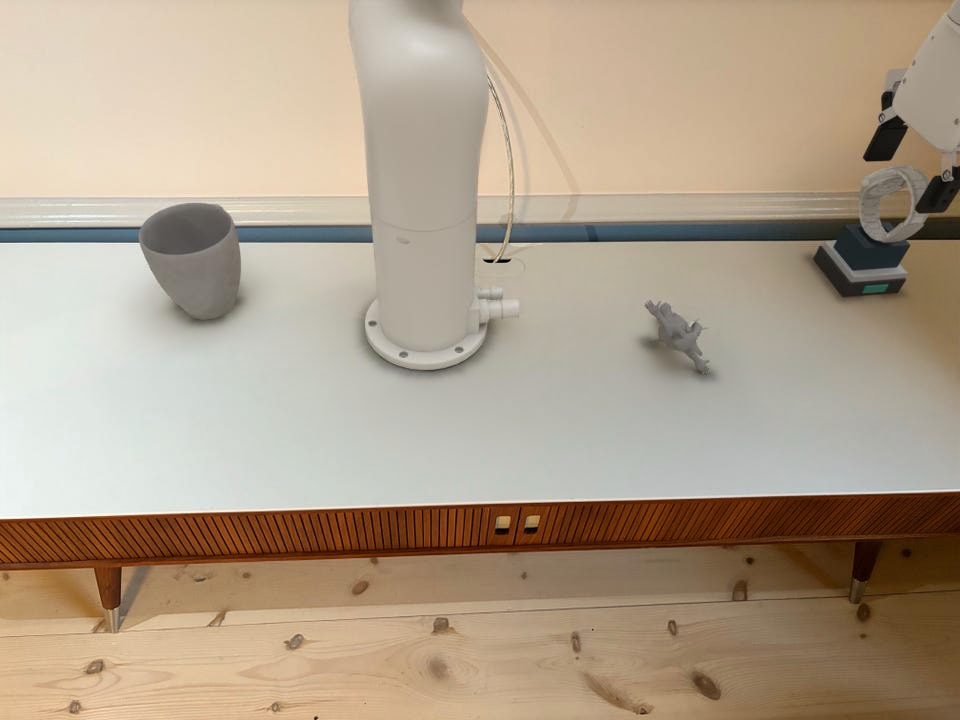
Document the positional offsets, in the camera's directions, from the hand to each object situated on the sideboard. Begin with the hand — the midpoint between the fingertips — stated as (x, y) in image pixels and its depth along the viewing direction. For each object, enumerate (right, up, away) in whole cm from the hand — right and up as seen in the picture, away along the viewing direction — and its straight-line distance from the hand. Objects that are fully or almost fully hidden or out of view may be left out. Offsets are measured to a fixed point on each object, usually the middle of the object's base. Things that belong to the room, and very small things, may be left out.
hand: (901, 184), depth 73 cm
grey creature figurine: (-25, -17, -1) cm, 30 cm away
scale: (0, -8, +9) cm, 12 cm away
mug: (-73, -11, +2) cm, 74 cm away
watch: (0, -7, +7) cm, 10 cm away
